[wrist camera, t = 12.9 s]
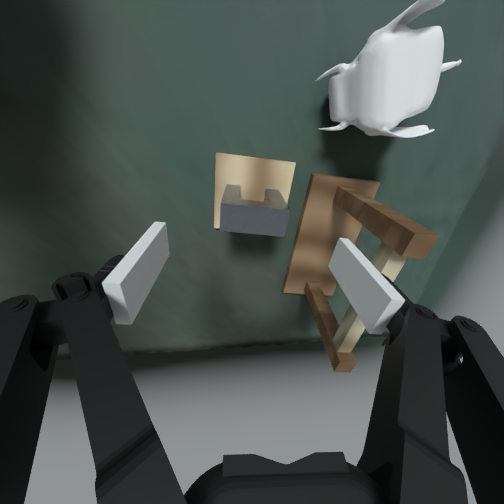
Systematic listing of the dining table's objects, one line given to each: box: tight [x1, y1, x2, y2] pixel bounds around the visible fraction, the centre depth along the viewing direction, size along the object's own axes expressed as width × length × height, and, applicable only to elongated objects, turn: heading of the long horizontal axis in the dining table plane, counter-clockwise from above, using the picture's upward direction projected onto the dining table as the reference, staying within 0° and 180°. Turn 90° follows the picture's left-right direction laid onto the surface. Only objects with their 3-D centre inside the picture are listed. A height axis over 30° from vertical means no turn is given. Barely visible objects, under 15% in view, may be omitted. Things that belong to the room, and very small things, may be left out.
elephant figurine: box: [314, 0, 461, 138], centre depth 19 cm, size 10×12×9 cm
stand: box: [282, 173, 440, 372], centre depth 26 cm, size 20×9×15 cm, turn 173°
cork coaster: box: [214, 153, 296, 228], centre depth 28 cm, size 10×10×1 cm
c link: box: [219, 184, 290, 237], centre depth 25 cm, size 7×3×8 cm, turn 83°
